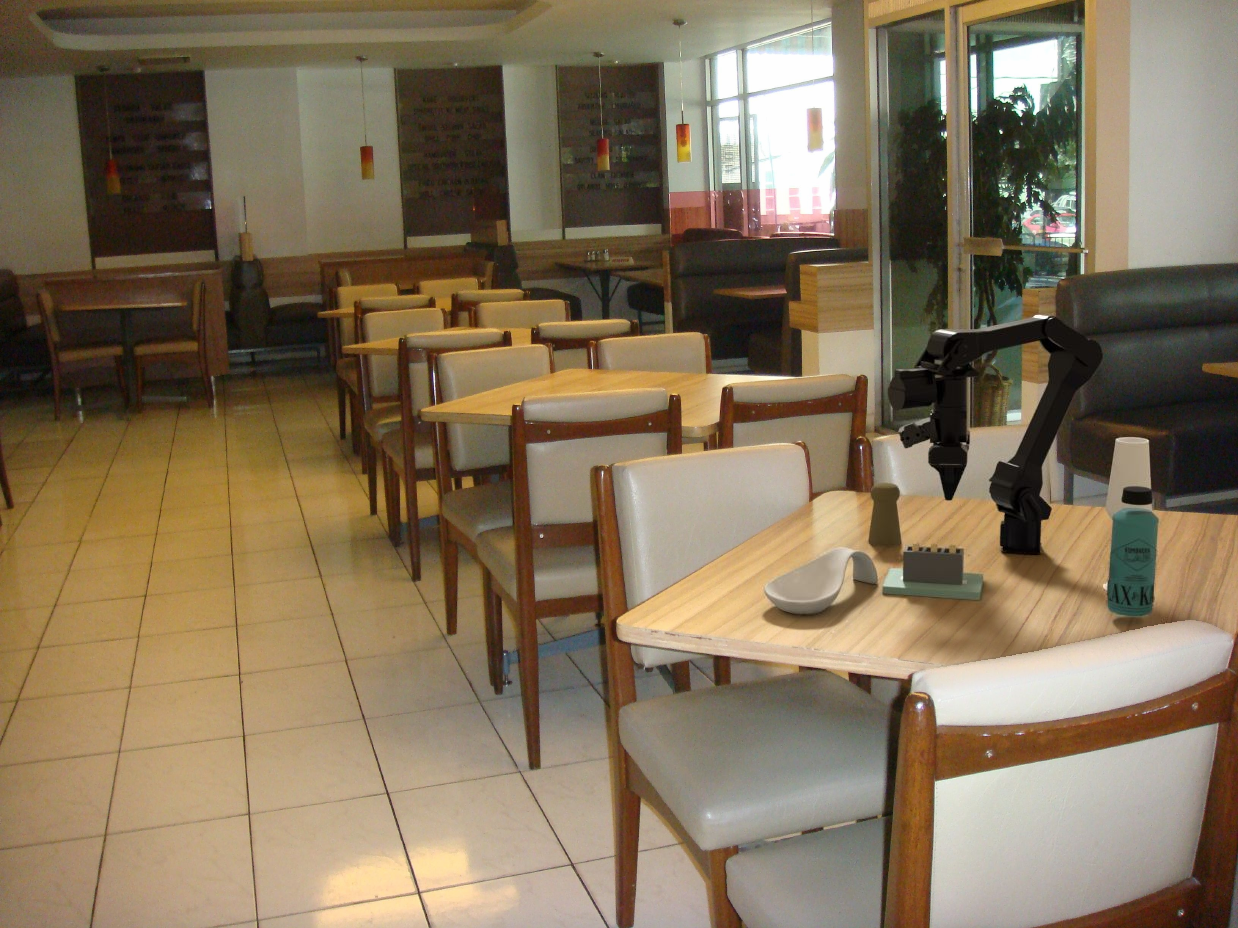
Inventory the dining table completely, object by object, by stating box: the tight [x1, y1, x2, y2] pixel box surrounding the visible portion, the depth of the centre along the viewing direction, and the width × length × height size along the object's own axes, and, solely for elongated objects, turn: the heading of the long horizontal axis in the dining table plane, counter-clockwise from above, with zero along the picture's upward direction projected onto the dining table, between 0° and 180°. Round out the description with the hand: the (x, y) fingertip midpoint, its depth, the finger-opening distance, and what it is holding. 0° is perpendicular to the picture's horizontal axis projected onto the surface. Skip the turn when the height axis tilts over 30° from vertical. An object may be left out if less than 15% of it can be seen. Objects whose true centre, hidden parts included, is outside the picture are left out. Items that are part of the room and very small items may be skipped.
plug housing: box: [902, 544, 965, 585], centre depth 195 cm, size 9×4×5 cm, turn 71°
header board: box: [881, 542, 984, 601], centre depth 195 cm, size 15×10×7 cm, turn 70°
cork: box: [867, 482, 903, 547], centre depth 222 cm, size 6×6×11 cm
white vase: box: [1102, 436, 1153, 591], centre depth 189 cm, size 7×7×24 cm
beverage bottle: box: [1105, 486, 1160, 617], centre depth 176 cm, size 6×7×20 cm
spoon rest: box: [763, 546, 879, 615], centre depth 192 cm, size 24×12×7 cm, turn 136°
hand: (949, 493), depth 208 cm, fingers open, 9 cm apart
